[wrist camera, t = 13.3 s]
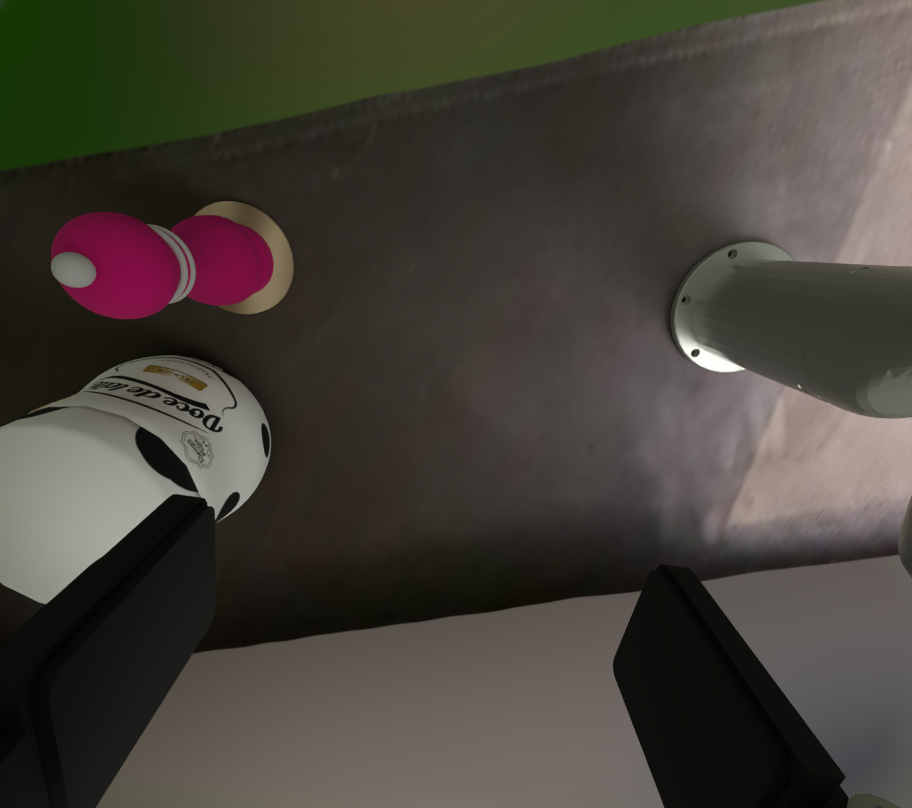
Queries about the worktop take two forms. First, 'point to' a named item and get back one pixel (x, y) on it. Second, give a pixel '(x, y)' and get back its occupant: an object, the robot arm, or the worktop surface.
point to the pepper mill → (157, 263)
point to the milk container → (121, 464)
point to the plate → (277, 245)
